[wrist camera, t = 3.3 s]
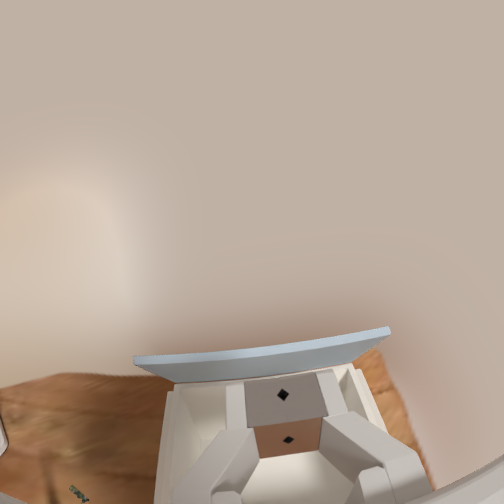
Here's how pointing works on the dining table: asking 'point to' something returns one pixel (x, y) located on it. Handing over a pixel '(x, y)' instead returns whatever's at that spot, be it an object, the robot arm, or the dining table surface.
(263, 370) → the lid flap
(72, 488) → the eiffel tower figurine
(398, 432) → the dining table surface
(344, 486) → the carton
